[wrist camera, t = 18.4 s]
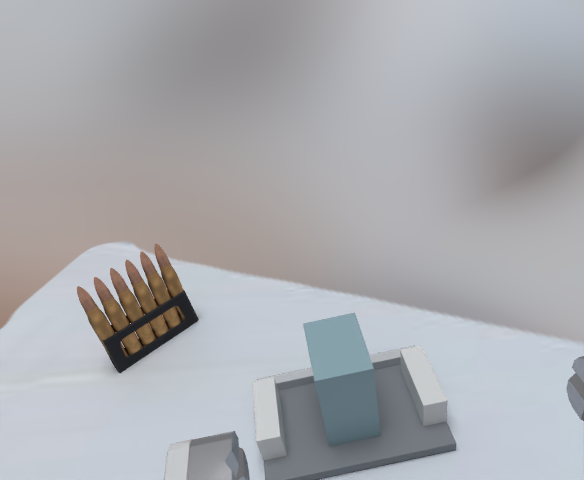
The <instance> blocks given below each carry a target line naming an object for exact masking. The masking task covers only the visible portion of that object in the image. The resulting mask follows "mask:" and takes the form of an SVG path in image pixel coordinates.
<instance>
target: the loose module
mask: <svg viewBox="0 0 584 480" xmlns="http://www.w3.org/2000/svg"><path fill="white" fill-rule="evenodd" d="M303 325H304V330H305V335H306V340H307V345H308V351H309V356H310V361H311V366H312V371H313V376H314V381H315V386H316V390H317V394H318V399H319V403H320V408H321V412H322V416H323V421H324V425H325V430H326V434H327V438H328V443H329V447H330V446H335V445H339V444H344V443H349V442H354V441H358V440H363V439H368V438H372V437H377V436H381V434H380V424H379V415H378V405H377V395H376V385H375V376H374V368H373V365H372V362H371V359H370V356H369V353H368V350H367V347H366V344H365V341H364V338H363V335H362V332H361V329H360V327H359V324H358V321H357V318H356V315H355V313H351V314H347V315H342V316H337V317H333V318H328V319H323V320H318V321H314V322H309V323H304V324H303Z"/></svg>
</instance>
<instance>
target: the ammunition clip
mask: <svg viewBox="0 0 584 480" xmlns="http://www.w3.org/2000/svg"><path fill="white" fill-rule="evenodd" d="M155 255H156V259H157V262H158V264H159V267H160V270H161V274H162V278H163V280H164V282H163V280H162V278H161V277H160V276H159V275H158V273H157V271H156V269H155V267H154V265H153V263H152V262H151V260H150V259H149V257H148V256H147V255H146V254H145V253H144V252H141V253H140V258H141V264H142V267H143V270H144V272H145V275H146V277H147V280H148V285H149V287H150V290H151V292H152V294H153V296H154V298H155V299H154V298H153V296H152V294H151V292H150V290H149V288H148V286H147V285H146V284H145V283H144V281H143V279H142V277H141V276H140V274H139V272H138V270H137V269H136V267H135V266H134V265H133V264H132V263H131V262H130V261H129V260H126V263H125V264H126V271H127V274H128V277H129V279H130V281H131V284H132V286H133V289H134V293H135V296H136V298H137V300H138V302H139V304H140V306H141V307H140V306H139V304H138V302H137V300H136V298H135V296H134V295H133V294H132V292H131V291H130V290H129V288H128V286H127V285H126V283H125V281H124V280H123V278H122V277H121V276H120V274H119V273H118V272H117V271H116V270H114V269H113V268H111V269H110V275H111V280H112V283H113V285H114V287H115V289H116V292H117V294H118V296H119V300H120V303H121V305H122V307H123V309H124V311H125V313H126V315H127V316H125V314H124V312H123V310H122V309H121V307H120V305H119V304H118V302H117V301H116V300H115V299H114V297H113V296H112V295H111V293H110V291H109V289H108V288H107V287H106V285H105V284H104V283H103V282H102V281H101V280H100V279H98V278H97V277H95V278H94V285H95V289H96V292H97V294H98V296H99V298H100V300H101V303H102V305H103V307H104V311H105V313H106V315H107V317H108V319H109V320H110V322H111V324H112V325H110V323H109V322H108V320H107V318H106V316H105V315H104V313H103V312H102V311H101V310H100V309H99V308H98V306H97V305H96V304H95V302H94V300H93V299H92V297H91V296H90V295H89V294H88V293H87V292H86V291H85V290H84V289H83V288H81V287H79V286H78V287H77V293H78V297H79V300H80V302H81V305H82V306H83V308H84V310H85V312H86V314H87V316H88V320H89V322H90V324H91V326H92V328H93V329H94V331H95V333H96V334H97V336H98V337H99V339H100V341H101V342H102V344H103V346H104V348H105V349H106V351H107V353H108V355H109V357H110V359H111V361H112V363H113V365H114V366H115V368H116V369H117V371H118V372H119V373H121V372H122V371H124V370H125V369H127V368H128V367H130V366H131V365H133V364H134V363H136V362H137V361H139V360H140V359H142V358H143V357H145V356H146V355H148V354H149V353H151V352H152V351H154V350H155V349H157V348H158V347H160V346H161V345H163V344H164V343H166V342H167V341H169V340H170V339H172V338H173V337H175V336H176V335H178V334H179V333H181V332H182V331H184V330H185V329H187V328H188V327H190V326H191V325H193V324H194V323H195V322H197V321H198V317H197V315H196V313H195V311H194V309H193V307H192V305H191V303H190V301H189V299H188V297H187V295H186V293H185V291H184V290H183V288H182V285H181V283H180V281H179V278H178V276H177V274H176V272H175V270H174V269H173V267H172V266H171V264H170V262H169V260H168V258H167V256H166V254H165V252H164V251H163V250H162V248H161V247H160V246H159V245H158V244H155ZM164 283H165V284H164ZM165 285H166V287H167V289H166V287H165ZM167 290H168V291H167ZM175 308H176V309H175ZM176 310H177V311H176ZM144 314H145V315H144ZM162 315H163V317H162ZM163 318H164V319H163ZM164 320H165V321H164ZM130 323H131V324H130ZM149 324H150V325H149ZM150 326H151V327H150ZM151 328H152V329H151ZM134 331H135V332H136V334H137V336H138V338H139V339H138V338H137V336H136V334H135V332H134ZM121 342H122V343H123V345H124V347H125V348H124V347H123V345H122V344H121Z"/></svg>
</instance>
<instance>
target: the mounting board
mask: <svg viewBox="0 0 584 480" xmlns="http://www.w3.org/2000/svg"><path fill="white" fill-rule="evenodd" d="M369 356H370V359H371V362H372V365H373V368H374V376H375V385H376V395H377V405H378V415H379V424H380V434H381V436H377V437H372V438H368V439H363V440H358V441H354V442H349V443H344V444H339V445H335V446H330V447H329V443H328V438H327V434H326V430H325V425H324V421H323V416H322V412H321V408H320V403H319V399H318V394H317V390H316V386H315V381H314V376H313V371H312V368H307V369H302V370H298V371H293V372H288V373H283V374H279V375H274V376H269V377H265V378H260V379H256V380H257V381H253V392H254V408H255V425H256V442H257V444H258V447H259V449H260V452H261V454H262V457H263V459H264V468H265V480H317V479H321V478H326V477H331V476H335V475H340V474H345V473H349V472H354V471H359V470H363V469H368V468H373V467H378V466H382V465H387V464H392V463H396V462H401V461H406V460H410V459H415V458H420V457H424V456H429V455H434V454H438V453H443V452H448V451H453V450H456V442H455V439H454V437H453V435H452V433H451V431H450V428H449V426H448V424H447V422H446V420H447V399H446V397H445V395H444V392H443V390H442V388H441V386H440V384H439V382H438V380H437V378H436V376H435V373H434V371H433V369H432V367H431V365H430V363H429V361H428V359H427V357H426V355H425V352H424V350H423V348H422V346H417V347H415V346H410V347H405V348H401V349H396V350H391V351H387V352H382V353H377V354H373V355H369Z"/></svg>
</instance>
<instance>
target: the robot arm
mask: <svg viewBox="0 0 584 480" xmlns="http://www.w3.org/2000/svg"><path fill="white" fill-rule="evenodd" d="M572 368H573V370H574V371H575V372H576V373H575V374H574V375H573V376H572V377H571V378H570V379H569V380H568V384H567V393H568V398H569V401H570V403H571V405H572V407H573V409H574V410H575V412H576V413H577V415H578V416H579V418H580V419H581V420H583V421H584V356H583V357H579V358H577V359H576V360H574V363H573V366H572ZM164 480H249V471H248V463H247V460H246V456H245V453H244V451H243V449H242V448H239V444H238V437H237V435H236V433H235V431H232V432H228V433H223V434H218V435H213V436H208V437H204V438H199V439H194V440H193V439H192V440H187V441H183V442H178V443H174V444H170V447H169V449H168V452H167V459H166V467H165V476H164Z"/></svg>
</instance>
